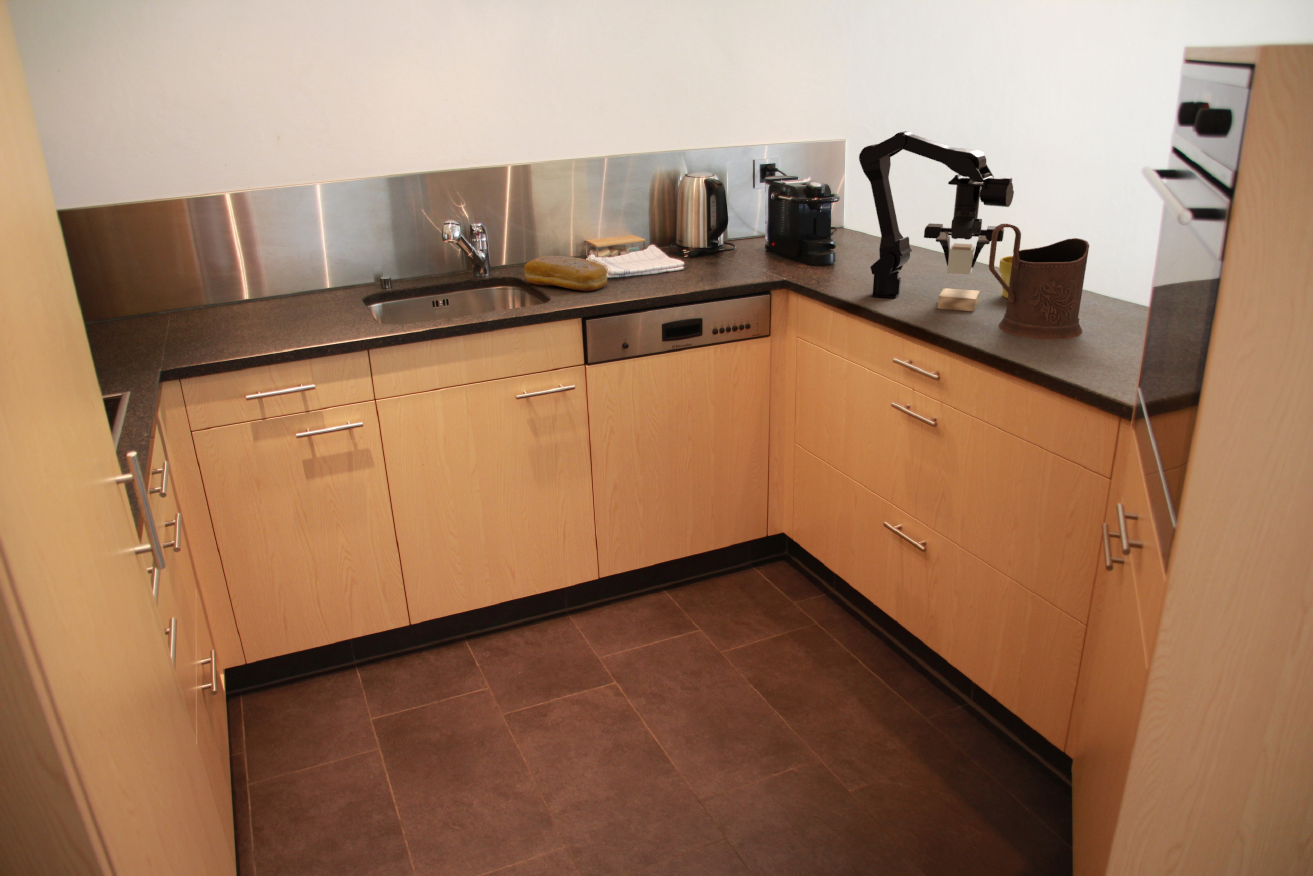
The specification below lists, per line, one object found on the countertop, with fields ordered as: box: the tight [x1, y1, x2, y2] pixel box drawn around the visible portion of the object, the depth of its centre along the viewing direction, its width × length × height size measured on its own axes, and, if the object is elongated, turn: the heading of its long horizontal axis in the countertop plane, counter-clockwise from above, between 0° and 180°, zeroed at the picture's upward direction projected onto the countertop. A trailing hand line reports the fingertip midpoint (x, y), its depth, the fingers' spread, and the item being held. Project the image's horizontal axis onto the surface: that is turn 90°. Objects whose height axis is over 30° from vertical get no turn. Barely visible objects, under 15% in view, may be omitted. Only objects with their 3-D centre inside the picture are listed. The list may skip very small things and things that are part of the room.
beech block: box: [937, 287, 981, 312], centre depth 238 cm, size 9×9×4 cm
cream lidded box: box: [946, 242, 976, 276], centre depth 235 cm, size 6×6×7 cm
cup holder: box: [988, 223, 1090, 341], centre depth 213 cm, size 18×24×25 cm
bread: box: [523, 255, 608, 292], centre depth 269 cm, size 13×26×8 cm, turn 60°
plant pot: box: [998, 255, 1013, 299], centre depth 244 cm, size 10×10×10 cm
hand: (960, 266), depth 236 cm, fingers closed on cream lidded box, 6 cm apart
